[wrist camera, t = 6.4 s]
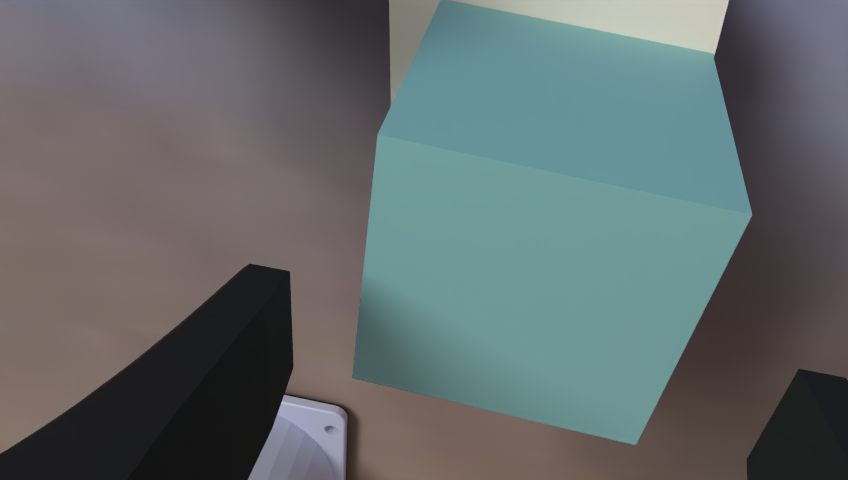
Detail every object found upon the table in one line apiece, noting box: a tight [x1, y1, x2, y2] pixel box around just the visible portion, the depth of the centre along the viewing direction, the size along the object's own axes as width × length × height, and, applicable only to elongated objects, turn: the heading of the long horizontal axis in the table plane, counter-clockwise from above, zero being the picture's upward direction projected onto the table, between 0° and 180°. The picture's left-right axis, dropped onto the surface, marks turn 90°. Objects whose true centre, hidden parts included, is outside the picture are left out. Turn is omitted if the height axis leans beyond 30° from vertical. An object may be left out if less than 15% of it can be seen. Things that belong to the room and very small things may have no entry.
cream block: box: [389, 0, 729, 105], centre depth 17 cm, size 6×6×4 cm
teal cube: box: [352, 0, 752, 445], centre depth 14 cm, size 5×5×5 cm
